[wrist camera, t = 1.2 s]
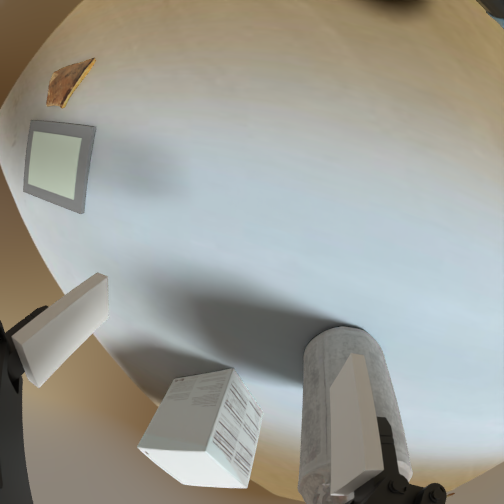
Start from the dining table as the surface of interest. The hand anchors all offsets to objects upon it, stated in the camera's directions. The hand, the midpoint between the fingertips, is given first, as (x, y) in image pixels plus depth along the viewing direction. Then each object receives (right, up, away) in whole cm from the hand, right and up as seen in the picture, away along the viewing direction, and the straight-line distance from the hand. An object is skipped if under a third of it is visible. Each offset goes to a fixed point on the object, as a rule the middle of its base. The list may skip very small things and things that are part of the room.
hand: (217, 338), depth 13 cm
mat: (-32, +20, +24) cm, 45 cm away
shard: (-29, +33, +19) cm, 48 cm away
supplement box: (-4, -23, +35) cm, 42 cm away
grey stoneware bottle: (+16, -13, +27) cm, 34 cm away
